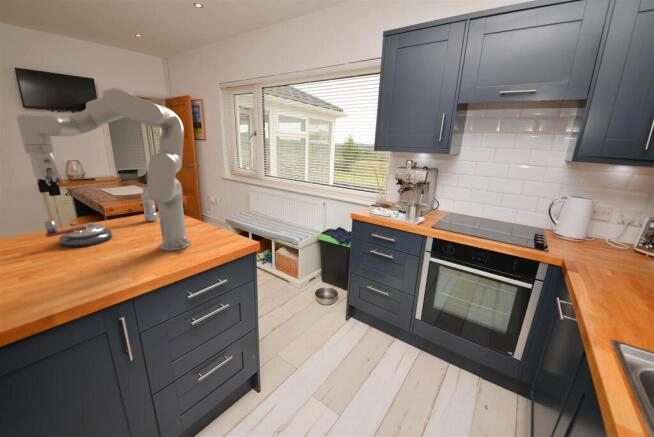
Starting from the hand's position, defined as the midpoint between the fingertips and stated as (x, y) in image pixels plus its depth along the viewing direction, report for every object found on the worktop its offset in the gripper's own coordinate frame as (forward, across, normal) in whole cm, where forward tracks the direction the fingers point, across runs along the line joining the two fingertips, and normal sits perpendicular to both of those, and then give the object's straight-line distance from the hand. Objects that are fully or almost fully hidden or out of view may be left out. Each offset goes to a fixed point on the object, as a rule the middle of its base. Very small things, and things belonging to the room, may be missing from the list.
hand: (50, 193), depth 107 cm
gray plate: (+25, +7, -10) cm, 27 cm away
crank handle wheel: (+21, +7, -7) cm, 23 cm away
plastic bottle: (+25, +14, -43) cm, 52 cm away
